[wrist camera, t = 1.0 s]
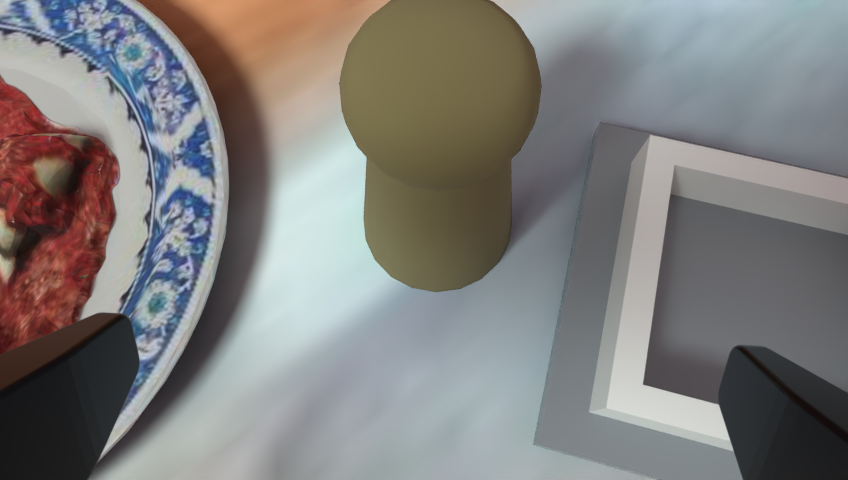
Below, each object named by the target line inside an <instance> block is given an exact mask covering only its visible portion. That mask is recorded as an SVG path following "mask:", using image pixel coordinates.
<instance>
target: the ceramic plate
mask: <svg viewBox="0 0 848 480" xmlns="http://www.w3.org/2000/svg"><path fill="white" fill-rule="evenodd" d="M228 199H229V171H228V157H227V151H226V144H225V138H224V132H223V129H222V125H221V122H220V118H219V115H218V111H217V107H216V104H215V102H214V99H213V97H212V95H211V92H210V90H209V87H208V85H207V83H206V80H205V78H204V77H203V75H202V73H201V71H200V70H199V68H198V66H197V64H196V63H195V61H194V59H193V57H192V56H191V55H190V53H189V52H188V51H187V49H186V48H185V47H184V45H183V44H182V43H181V41H180V40H179V39H178V37H177V36H176V35H175V34H174V33H173V32H172V31H171V30H170V29H169V28H168V27H167V26H166V25H165V24H164V23H163V22H162V21H161V20H160V19H159V18H158V17H157V16H156V15H154V14H153V13H152V12H151V11H150V10H148V9H147V8H146V7H145V6H144V5H142V4H141V3H139V2H138V1H136V0H0V354H2V353H5V352H7V351H9V350H12V349H14V348H16V347H19V346H21V345H23V344H26V343H28V342H30V341H33V340H35V339H37V338H40V337H42V336H44V335H47V334H49V333H51V332H54V331H56V330H59V329H61V328H63V327H66V326H68V325H70V324H73V323H75V322H77V321H80V320H82V319H84V318H87V317H89V316H91V315H94V314H96V313H101V312H106V313H123V314H126V315H127V316H128V317H129V318H130V320H131V322H132V326H133V330H134V335H135V339H136V344H137V348H138V353H139V358H140V365H139V371H138V374H137V377H136V379H135V381H134V383H133V386H132V388H131V390H130V392H129V394H128V397H127V399H126V401H125V403H124V406H123V408H122V410H121V412H120V415H119V417H118V419H117V421H116V424H115V426H114V428H113V430H112V432H111V435H110V437H109V439H108V441H107V444H106V446H105V448H104V450H103V452H102V454H101V456H100V458H99V460H98V462H99V461H100V460H101V459H102V458H103V457H104V456H105V455H106V454H107V453H108V451H109V450H110V449H111V448H112V447H113V446H114V445H115V444H116V443H117V442H118V441H119V440H120V439H121V438H122V437H123V436H124V435H125V434H126V433H127V432H128V431H129V430H130V429H131V427H132V426H133V425H134V423H135V422H136V420H137V419H138V418H139V416H140V415H141V414H142V412H143V411H144V410H145V408H146V407H147V406H148V404H149V403H150V402H151V400H152V399H153V398H154V396H155V395H156V394H157V392H158V391H159V389H160V388H161V387H162V385H163V384H164V383H165V381H166V380H167V378H168V376H169V375H170V373H171V371H172V370H173V368H174V366H175V365H176V363H177V361H178V360H179V358H180V356H181V355H182V353H183V351H184V350H185V348H186V346H187V344H188V342H189V339H190V337H191V335H192V333H193V331H194V329H195V327H196V325H197V323H198V321H199V319H200V317H201V314H202V312H203V309H204V306H205V304H206V301H207V298H208V296H209V293H210V290H211V288H212V285H213V282H214V279H215V275H216V271H217V267H218V263H219V259H220V255H221V251H222V247H223V243H224V239H225V235H226V224H227V211H228ZM98 462H97V463H98Z"/></svg>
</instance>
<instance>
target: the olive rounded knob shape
mask: <svg viewBox="0 0 848 480" xmlns="http://www.w3.org/2000/svg"><path fill="white" fill-rule="evenodd" d="M339 85H340V95H341V106H342V112H343V116H344V119H345V122H346V125H347V127H348V129H349V131H350V133H351V135H352V137H353V139H354V141H355V143H356V145H357V147H358V148H359V149H360V150H361V151H362V152H363V153H364V155H365V156H366V157H367V162H366V182H365V202H364V227H365V237H366V241H367V244H368V246H369V248H370V250H371V252H372V254H373V256H374V259H375V260H376V261H377V262H378V264H379V265H380V266H381V267H382V268H383V269H384V270H385V271H386V272H387V273H388V274H389V275H390V276H391V277H393V278H395V279H397V280H398V281H400V282H402V283H404V284H406V285H408V286H410V287H412V288H416V289H422V290H428V291H433V292H440V291H447V290H455V289H461V288H463V287H465V286H467V285H469V284H471V283H473V282H476V281H478V280H480V279H482V278H483V277H484V276H485V275H486V274H487V273H488V272H489V271H490V270H491V269H492V268H493V267H494V266H495V265H497V264H498V262H499V260H500V258H501V257H502V255H503V253H504V251H505V249H506V247H507V245H508V243H509V237H510V230H511V223H512V203H511V159H512V158H513V157H514V156H515V155H516V154H517V153H518V152H519V151H520V150H521V148H522V146H523V144H524V142H525V140H526V139H527V137H528V135H529V133H530V131H531V130H532V128H533V126H534V123H535V120H536V117H537V114H538V108H539V101H540V94H541V78H540V72H539V68H538V63H537V59H536V55H535V50H534V47H533V46H532V44H531V43H530V41H529V40H528V38H527V36H526V35H525V33H524V32H523V30H522V29H521V27H520V26H519V24H518V23H517V22H516V21H515V20H514V19H513V18H512V17H511V16H510V15H509V14H507V13H506V12H505V11H504V10H503V9H501V8H500V7H499V6H498V5H496V4H495V3H494V2H492V1H490V0H391V1H390V2H388V3H387V4H386V5H384V6H383V7H382V8H380V9H379V10H378V11H376V12H375V13H374V14H372V15H371V16H370V17H369V18H368V19H367V20H366V21H365V23H364V24H363V25H362V27H361V28H360V30H359V31H358V32H357V34H356V35H355V37H354V38H353V39H352V41H351V42H350V44H349V45H348V49H347V52H346V56H345V59H344V63H343V67H342V70H341V76H340V83H339Z"/></svg>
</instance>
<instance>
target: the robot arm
mask: <svg viewBox="0 0 848 480" xmlns="http://www.w3.org/2000/svg"><path fill="white" fill-rule="evenodd" d="M139 365H140V358H139V353H138V348H137V344H136V339H135V335H134V330H133V326H132V322H131V320H130V318H129V317H128V316H127V315H126V314H123V313H106V312H101V313H96V314H94V315H91V316H89V317H87V318H84V319H82V320H80V321H77V322H75V323H73V324H70V325H68V326H66V327H63V328H61V329H59V330H56V331H54V332H51V333H49V334H47V335H44V336H42V337H40V338H37V339H35V340H33V341H30V342H28V343H26V344H23V345H21V346H19V347H16V348H14V349H12V350H9V351H7V352H5V353H2V354H0V480H88V479H89V477H90V475H91V473H92V471H93V470H94V468H95V466H96V464H97V462H98V460H99V458H100V456H101V454H102V452H103V450H104V448H105V446H106V444H107V441H108V439H109V437H110V435H111V432H112V430H113V428H114V426H115V424H116V421H117V419H118V417H119V415H120V412H121V410H122V408H123V406H124V403H125V401H126V399H127V397H128V394H129V392H130V390H131V388H132V386H133V383H134V381H135V379H136V377H137V374H138V371H139ZM718 402H719V407H720V410H721V413H722V416H723V420H724V423H725V426H726V429H727V432H728V435H729V438H730V442H731V445H732V448H733V451H734V454H735V457H736V460H737V463H738V467H739V470H740V473H741V476H742V479H743V480H848V392H846V391H844V390H842V389H840V388H839V387H837V386H835V385H833V384H832V383H830V382H828V381H826V380H824V379H823V378H821V377H819V376H817V375H815V374H814V373H812V372H810V371H808V370H807V369H805V368H803V367H801V366H799V365H798V364H796V363H794V362H792V361H790V360H789V359H787V358H785V357H783V356H781V355H780V354H778V353H776V352H774V351H773V350H771V349H769V348H767V347H764V346H754V345H737V346H735V347H733V348H732V350H731V351H730V354H729V356H728V360H727V363H726V366H725V369H724V373H723V376H722V379H721V382H720V386H719V390H718Z"/></svg>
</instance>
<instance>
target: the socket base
mask: <svg viewBox="0 0 848 480" xmlns="http://www.w3.org/2000/svg"><path fill="white" fill-rule="evenodd" d="M737 345H754V346H764V347H767V348H769V349H771V350H773V351H774V352H776V353H778V354H780V355H781V356H783V357H785V358H787V359H789V360H790V361H792V362H794V363H796V364H798V365H799V366H801V367H803V368H805V369H807V370H808V371H810V372H812V373H814V374H815V375H817V376H819V377H821V378H823V379H824V380H826V381H828V382H830V383H832V384H833V385H835V386H837V387H839V388H840V389H842V390H844V391H846V392H848V177H845V176H840V175H836V174H831V173H827V172H822V171H818V170H813V169H809V168H804V167H800V166H795V165H791V164H786V163H782V162H777V161H773V160H768V159H764V158H759V157H755V156H750V155H746V154H741V153H737V152H732V151H728V150H723V149H719V148H714V147H709V146H705V145H700V144H696V143H691V142H687V141H682V140H678V139H673V138H669V137H664V136H660V135H655V134H651V133H646V132H642V131H637V130H633V129H628V128H624V127H619V126H615V125H610V124H606V123H601V122H600V124H599V126H598V128H597V130H596V132H595V134H594V138H593V143H592V149H591V154H590V159H589V164H588V169H587V174H586V179H585V184H584V189H583V194H582V199H581V204H580V210H579V215H578V220H577V225H576V230H575V235H574V240H573V245H572V250H571V255H570V260H569V265H568V271H567V276H566V281H565V286H564V291H563V296H562V301H561V306H560V311H559V316H558V321H557V326H556V332H555V337H554V342H553V347H552V352H551V357H550V362H549V367H548V372H547V377H546V382H545V388H544V393H543V398H542V403H541V408H540V413H539V418H538V423H537V428H536V433H535V438H534V443H533V445H536V446H540V447H543V448H547V449H551V450H554V451H558V452H561V453H565V454H569V455H572V456H576V457H579V458H583V459H586V460H590V461H594V462H597V463H601V464H604V465H608V466H612V467H615V468H619V469H622V470H626V471H630V472H633V473H637V474H640V475H644V476H647V477H651V478H655V479H658V480H743V479H742V476H741V473H740V470H739V467H738V463H737V460H736V457H735V454H734V451H733V448H732V445H731V442H730V438H729V435H728V432H727V429H726V426H725V423H724V420H723V416H722V413H721V410H720V407H719V402H718V390H719V386H720V382H721V379H722V376H723V373H724V369H725V366H726V363H727V360H728V356H729V354H730V351H731V350H732V348H733V347H735V346H737Z"/></svg>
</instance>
